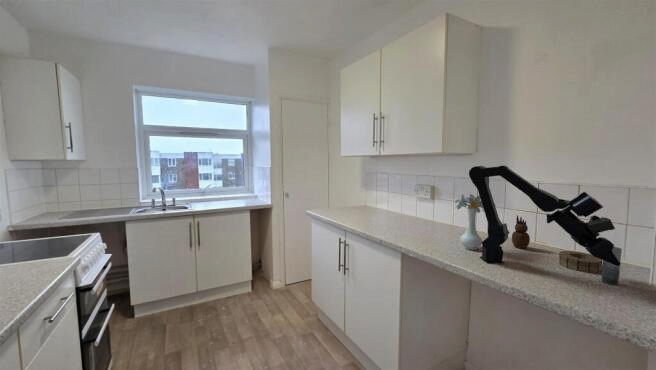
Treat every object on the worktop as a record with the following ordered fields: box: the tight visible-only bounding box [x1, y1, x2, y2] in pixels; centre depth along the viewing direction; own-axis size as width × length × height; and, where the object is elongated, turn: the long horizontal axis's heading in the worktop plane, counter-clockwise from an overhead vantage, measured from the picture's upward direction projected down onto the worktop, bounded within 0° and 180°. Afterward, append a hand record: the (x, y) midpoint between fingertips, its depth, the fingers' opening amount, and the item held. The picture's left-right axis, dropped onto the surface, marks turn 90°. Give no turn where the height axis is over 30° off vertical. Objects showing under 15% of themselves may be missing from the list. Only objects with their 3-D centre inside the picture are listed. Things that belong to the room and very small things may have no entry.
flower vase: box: [453, 193, 496, 251], centre depth 130 cm, size 13×18×25 cm
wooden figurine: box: [511, 214, 531, 250], centre depth 129 cm, size 7×6×15 cm
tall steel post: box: [600, 246, 623, 286], centre depth 93 cm, size 4×4×12 cm
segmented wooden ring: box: [558, 250, 603, 274], centre depth 107 cm, size 12×12×4 cm
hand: (612, 260), depth 93 cm, fingers open, 9 cm apart
